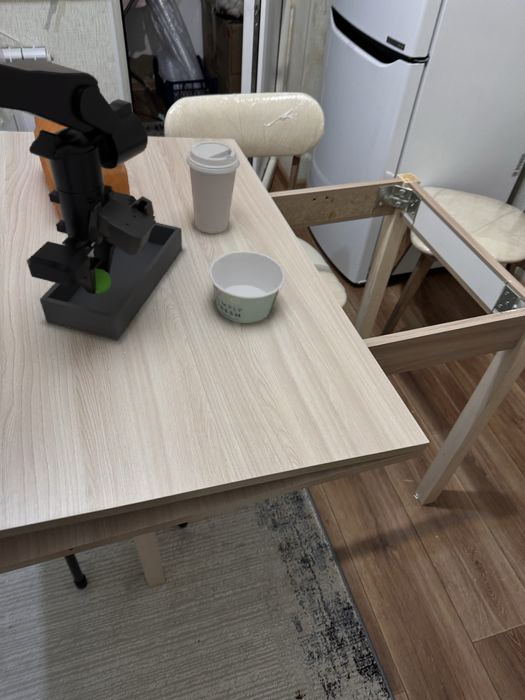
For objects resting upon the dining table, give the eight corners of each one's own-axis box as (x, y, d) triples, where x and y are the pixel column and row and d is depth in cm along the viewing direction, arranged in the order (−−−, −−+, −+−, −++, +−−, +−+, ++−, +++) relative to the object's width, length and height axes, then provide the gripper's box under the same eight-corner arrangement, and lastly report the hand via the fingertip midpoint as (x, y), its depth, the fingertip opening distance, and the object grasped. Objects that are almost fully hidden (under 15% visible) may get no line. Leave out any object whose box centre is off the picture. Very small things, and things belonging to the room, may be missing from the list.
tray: (46, 322, 73) (39, 299, 70) (123, 235, 91) (120, 214, 87) (117, 341, 72) (114, 318, 68) (182, 249, 89) (181, 228, 86)
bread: (62, 234, 89) (43, 149, 78) (41, 170, 105) (22, 91, 94) (136, 223, 94) (128, 141, 83) (106, 163, 110) (95, 88, 99)
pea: (82, 295, 69) (78, 275, 67) (94, 281, 72) (91, 261, 69) (105, 301, 69) (101, 281, 66) (116, 286, 71) (113, 267, 69)
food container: (194, 313, 77) (194, 280, 73) (228, 274, 85) (230, 242, 81) (262, 339, 75) (266, 307, 70) (291, 296, 83) (296, 265, 78)
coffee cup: (198, 242, 91) (199, 165, 81) (179, 216, 97) (177, 141, 86) (243, 232, 95) (249, 158, 85) (223, 209, 101) (226, 136, 90)
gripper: (104, 236, 51) (120, 341, 62) (172, 164, 64) (176, 262, 75) (8, 214, 52) (41, 321, 63) (94, 147, 65) (109, 246, 76)
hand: (98, 285), depth 69 cm, fingers closed on pea, 3 cm apart
